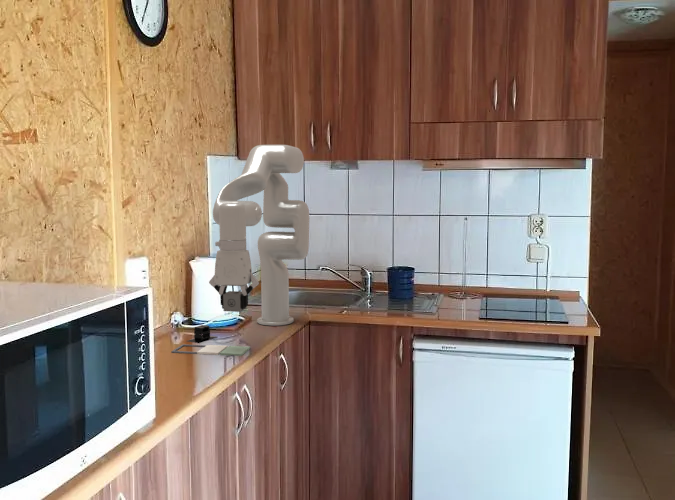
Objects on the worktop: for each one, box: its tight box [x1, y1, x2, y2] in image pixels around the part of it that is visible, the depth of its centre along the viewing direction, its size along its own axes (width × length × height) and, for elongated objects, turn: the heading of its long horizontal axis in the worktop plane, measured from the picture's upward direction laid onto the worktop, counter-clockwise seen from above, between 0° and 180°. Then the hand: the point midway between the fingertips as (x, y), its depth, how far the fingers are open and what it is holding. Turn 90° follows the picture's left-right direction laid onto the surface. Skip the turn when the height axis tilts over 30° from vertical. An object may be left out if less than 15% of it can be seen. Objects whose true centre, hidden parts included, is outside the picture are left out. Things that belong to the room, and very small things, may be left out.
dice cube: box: [223, 290, 247, 313], centre depth 201 cm, size 5×5×5 cm
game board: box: [171, 343, 251, 357], centre depth 204 cm, size 8×21×1 cm, turn 80°
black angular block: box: [186, 324, 218, 344], centre depth 218 cm, size 12×7×5 cm, turn 150°
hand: (234, 307), depth 201 cm, fingers closed on dice cube, 5 cm apart
